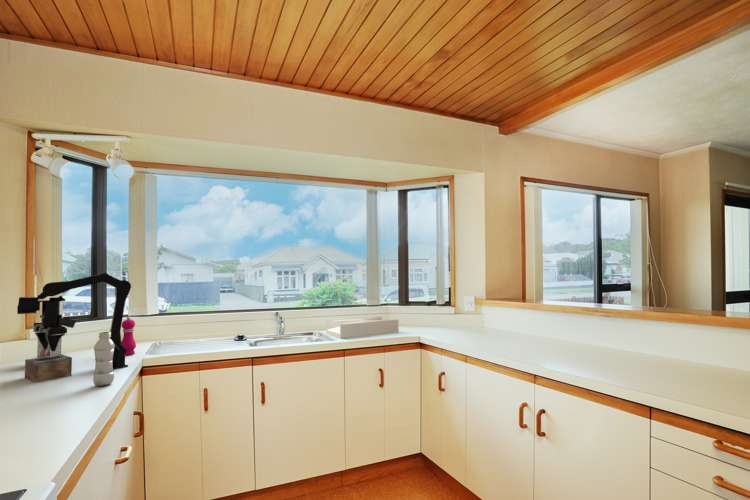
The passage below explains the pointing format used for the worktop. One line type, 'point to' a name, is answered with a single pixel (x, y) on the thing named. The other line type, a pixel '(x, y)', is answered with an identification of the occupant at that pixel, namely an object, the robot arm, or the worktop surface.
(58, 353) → the candy bar box
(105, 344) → the plastic bottle
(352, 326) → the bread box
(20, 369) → the worktop surface
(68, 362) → the box
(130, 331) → the pepper mill
